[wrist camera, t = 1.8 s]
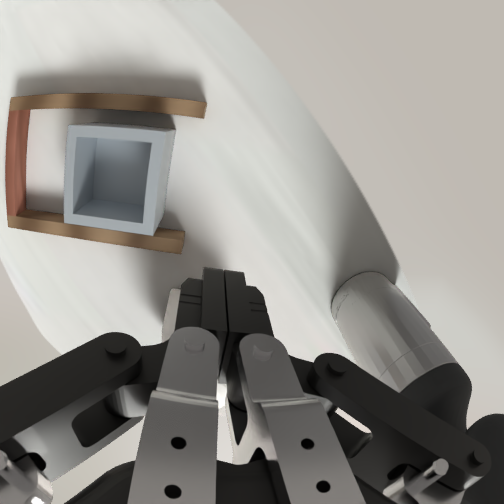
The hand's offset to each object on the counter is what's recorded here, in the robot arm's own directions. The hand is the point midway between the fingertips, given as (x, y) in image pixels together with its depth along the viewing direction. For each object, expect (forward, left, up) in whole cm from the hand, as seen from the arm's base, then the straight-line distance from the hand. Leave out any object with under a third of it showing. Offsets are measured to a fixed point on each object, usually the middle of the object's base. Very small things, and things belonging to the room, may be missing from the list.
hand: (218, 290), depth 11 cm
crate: (+9, 0, -20) cm, 22 cm away
